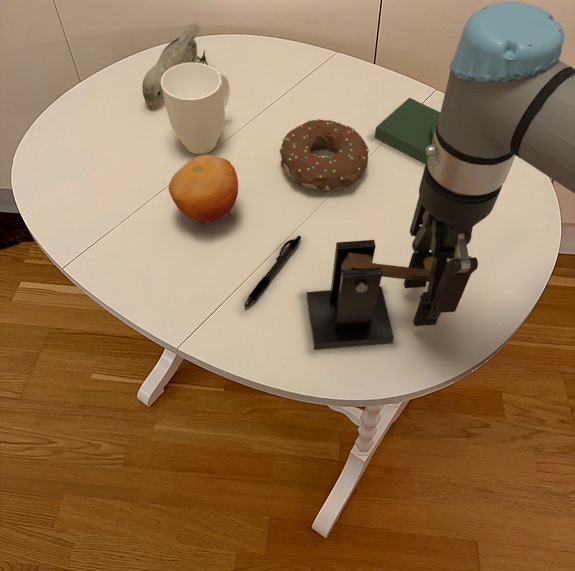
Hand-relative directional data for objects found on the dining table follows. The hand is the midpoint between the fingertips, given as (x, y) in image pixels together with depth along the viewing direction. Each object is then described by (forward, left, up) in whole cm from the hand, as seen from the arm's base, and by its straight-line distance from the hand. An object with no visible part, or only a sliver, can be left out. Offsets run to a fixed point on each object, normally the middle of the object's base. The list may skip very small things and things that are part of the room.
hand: (419, 303), depth 76 cm
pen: (+19, +7, -2) cm, 20 cm away
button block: (+17, -30, -2) cm, 34 cm away
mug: (+45, -7, -2) cm, 45 cm away
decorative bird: (+59, -14, -2) cm, 60 cm away
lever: (+3, +4, +6) cm, 8 cm away
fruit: (+33, +5, -2) cm, 33 cm away
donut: (+26, -14, -2) cm, 29 cm away
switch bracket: (+6, +6, -2) cm, 9 cm away
